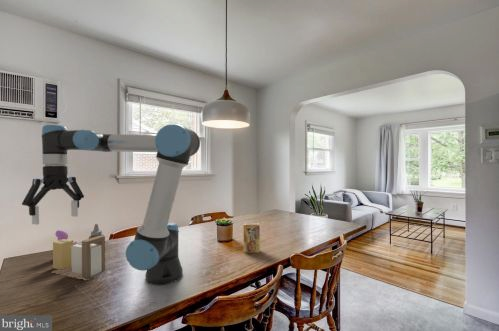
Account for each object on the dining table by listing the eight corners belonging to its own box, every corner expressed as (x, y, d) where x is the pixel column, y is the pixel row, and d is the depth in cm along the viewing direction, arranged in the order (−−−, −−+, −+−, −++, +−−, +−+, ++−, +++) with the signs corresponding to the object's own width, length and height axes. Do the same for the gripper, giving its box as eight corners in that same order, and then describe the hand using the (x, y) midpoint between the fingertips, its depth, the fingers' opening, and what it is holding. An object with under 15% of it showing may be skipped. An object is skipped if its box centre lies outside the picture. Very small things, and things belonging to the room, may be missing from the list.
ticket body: (105, 270, 109) (104, 236, 109) (86, 278, 101) (86, 241, 101) (86, 266, 113) (86, 233, 113) (67, 274, 105) (67, 238, 105)
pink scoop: (79, 255, 127) (79, 227, 127) (62, 262, 119) (62, 231, 119) (68, 253, 130) (68, 226, 130) (50, 259, 122) (50, 230, 121)
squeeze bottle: (103, 255, 128) (103, 221, 128) (107, 259, 122) (107, 224, 122) (85, 259, 122) (85, 224, 122) (88, 264, 117) (88, 227, 116)
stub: (73, 265, 114) (73, 239, 114) (61, 269, 109) (61, 243, 109) (64, 263, 116) (64, 238, 116) (53, 267, 111) (52, 241, 111)
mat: (111, 269, 110) (111, 269, 110) (86, 282, 99) (86, 281, 99) (75, 262, 118) (75, 261, 118) (47, 273, 107) (47, 272, 107)
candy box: (259, 250, 136) (259, 223, 136) (259, 252, 131) (259, 225, 131) (243, 250, 135) (243, 223, 135) (243, 253, 131) (243, 225, 131)
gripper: (81, 165, 106) (82, 212, 106) (8, 165, 83) (9, 227, 83) (93, 165, 103) (94, 214, 104) (20, 165, 80) (22, 228, 80)
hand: (56, 219), depth 93 cm, fingers open, 13 cm apart
